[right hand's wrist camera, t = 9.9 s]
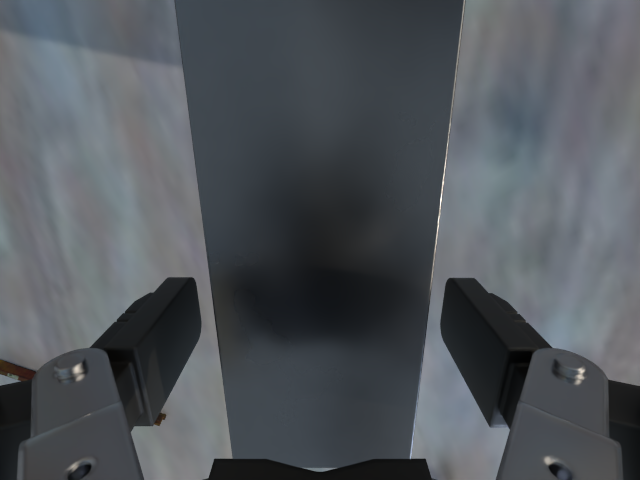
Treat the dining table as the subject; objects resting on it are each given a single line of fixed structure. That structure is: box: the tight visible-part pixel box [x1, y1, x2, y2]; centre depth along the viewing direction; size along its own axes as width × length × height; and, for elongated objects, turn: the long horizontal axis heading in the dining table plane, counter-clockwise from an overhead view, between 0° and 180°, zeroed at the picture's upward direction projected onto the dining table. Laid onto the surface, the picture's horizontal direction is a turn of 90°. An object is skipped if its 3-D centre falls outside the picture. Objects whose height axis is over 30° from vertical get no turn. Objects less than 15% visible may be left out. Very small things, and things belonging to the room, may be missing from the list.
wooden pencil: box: [0, 360, 166, 426], centre depth 31 cm, size 15×1×1 cm, turn 65°
